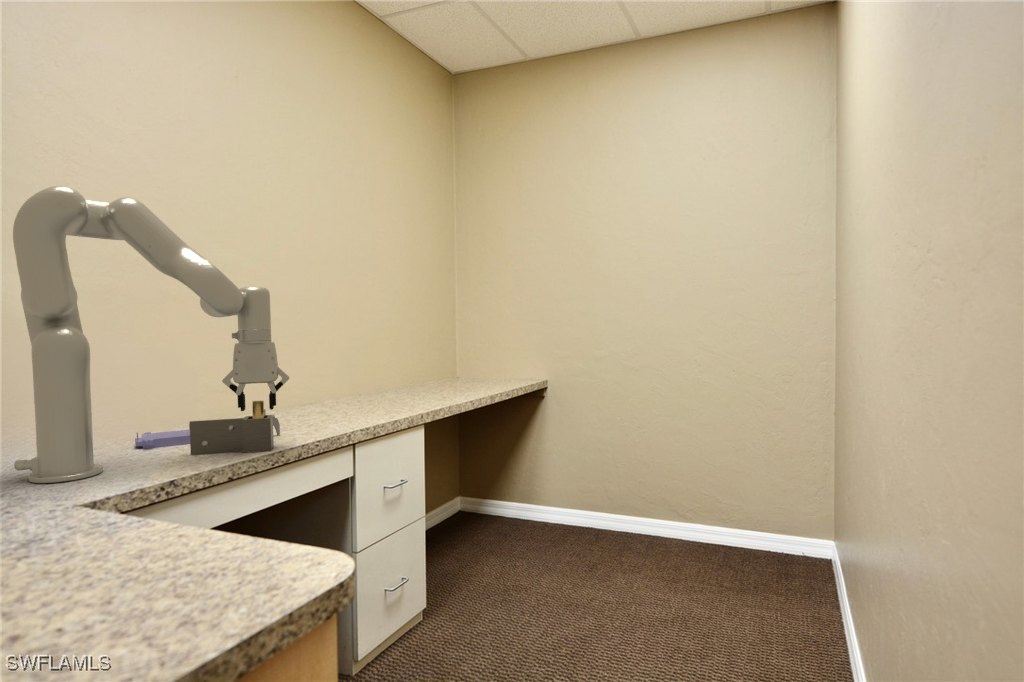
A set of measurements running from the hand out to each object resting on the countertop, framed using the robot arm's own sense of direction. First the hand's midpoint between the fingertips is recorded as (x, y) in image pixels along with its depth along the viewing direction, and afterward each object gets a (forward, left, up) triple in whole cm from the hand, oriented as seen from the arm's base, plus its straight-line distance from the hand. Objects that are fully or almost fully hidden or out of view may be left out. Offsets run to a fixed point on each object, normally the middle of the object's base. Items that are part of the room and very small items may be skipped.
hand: (257, 409), depth 151 cm
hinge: (-6, +6, -10) cm, 13 cm away
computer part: (-17, +21, -11) cm, 29 cm away
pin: (0, 0, -10) cm, 10 cm away
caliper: (-6, +16, -11) cm, 20 cm away
